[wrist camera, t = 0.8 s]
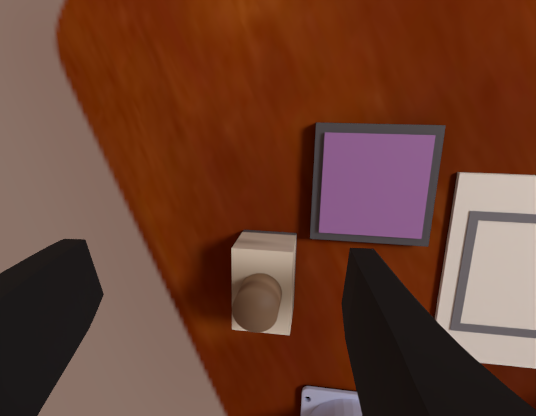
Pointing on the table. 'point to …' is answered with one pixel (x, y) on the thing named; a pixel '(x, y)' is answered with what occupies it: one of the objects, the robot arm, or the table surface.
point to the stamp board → (491, 269)
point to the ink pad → (375, 182)
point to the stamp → (263, 281)
